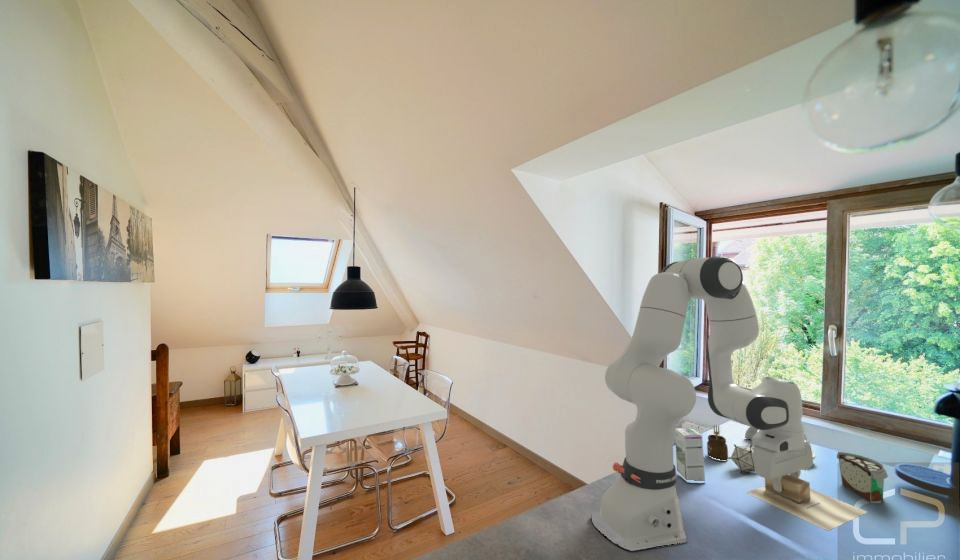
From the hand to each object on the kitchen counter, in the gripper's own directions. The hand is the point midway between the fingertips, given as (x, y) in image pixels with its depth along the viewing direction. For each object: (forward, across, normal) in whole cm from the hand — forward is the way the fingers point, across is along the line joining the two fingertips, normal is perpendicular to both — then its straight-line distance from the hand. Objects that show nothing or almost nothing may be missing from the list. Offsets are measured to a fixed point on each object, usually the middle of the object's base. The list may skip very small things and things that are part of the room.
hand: (786, 488), depth 99 cm
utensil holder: (+3, -7, -24) cm, 25 cm away
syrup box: (+3, +14, -18) cm, 23 cm away
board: (+3, 0, +4) cm, 5 cm away
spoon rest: (+3, -30, -19) cm, 36 cm away
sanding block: (+2, 0, 0) cm, 2 cm away
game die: (+3, -6, -14) cm, 16 cm away
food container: (+3, -20, +9) cm, 22 cm away
